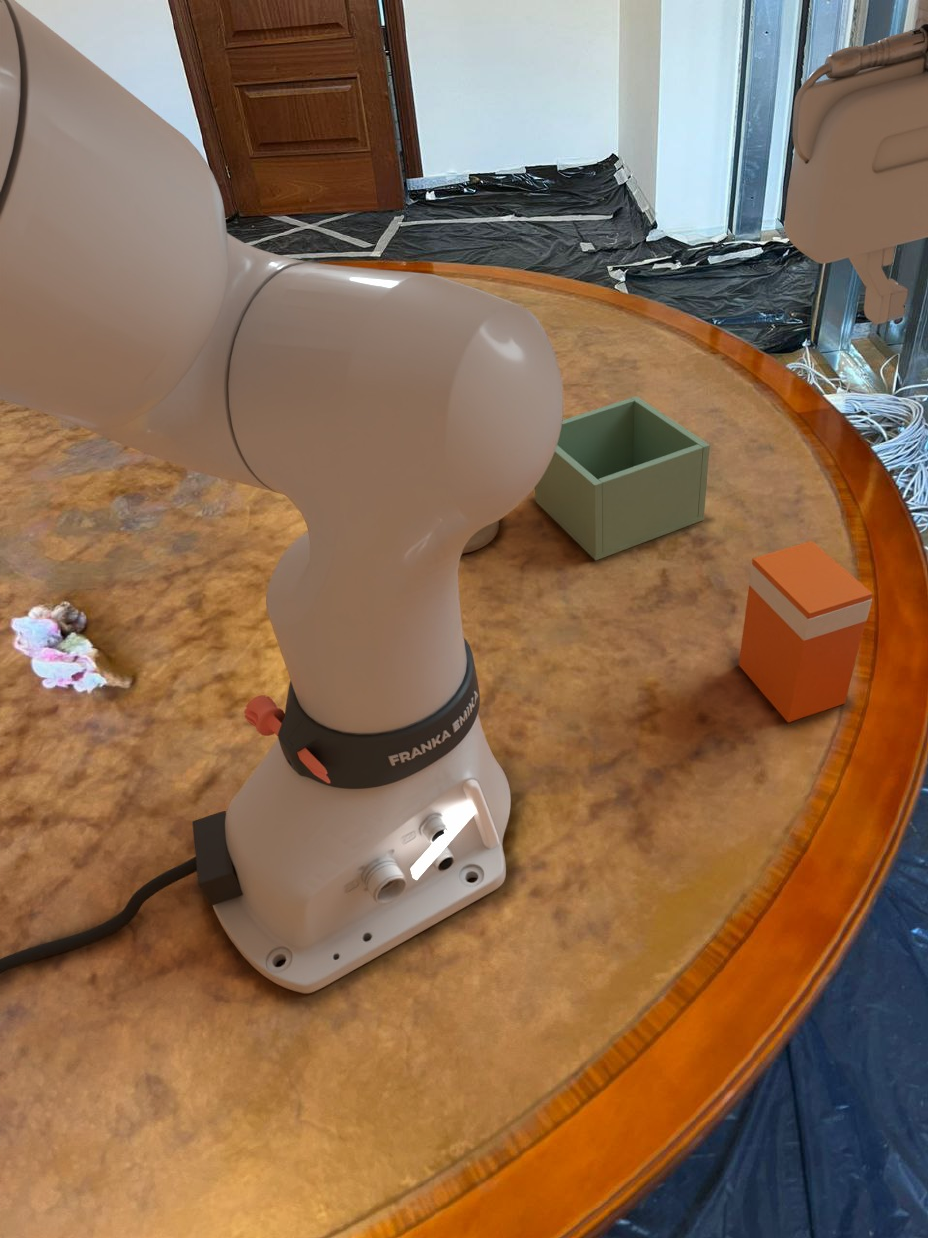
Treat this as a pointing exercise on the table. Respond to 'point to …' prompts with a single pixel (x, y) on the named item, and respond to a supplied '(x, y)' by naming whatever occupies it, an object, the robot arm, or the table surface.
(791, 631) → the packet
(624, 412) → the open storage bin
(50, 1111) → the table surface
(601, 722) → the table surface
